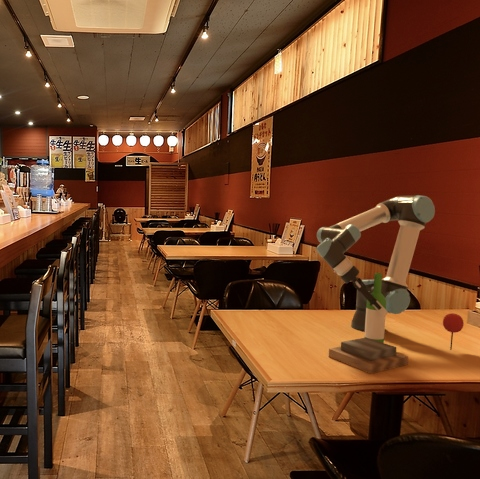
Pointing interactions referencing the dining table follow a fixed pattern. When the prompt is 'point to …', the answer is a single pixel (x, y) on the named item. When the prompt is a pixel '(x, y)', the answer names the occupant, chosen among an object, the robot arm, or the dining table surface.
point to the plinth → (368, 363)
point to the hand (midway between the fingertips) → (384, 312)
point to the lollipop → (453, 324)
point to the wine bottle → (375, 313)
